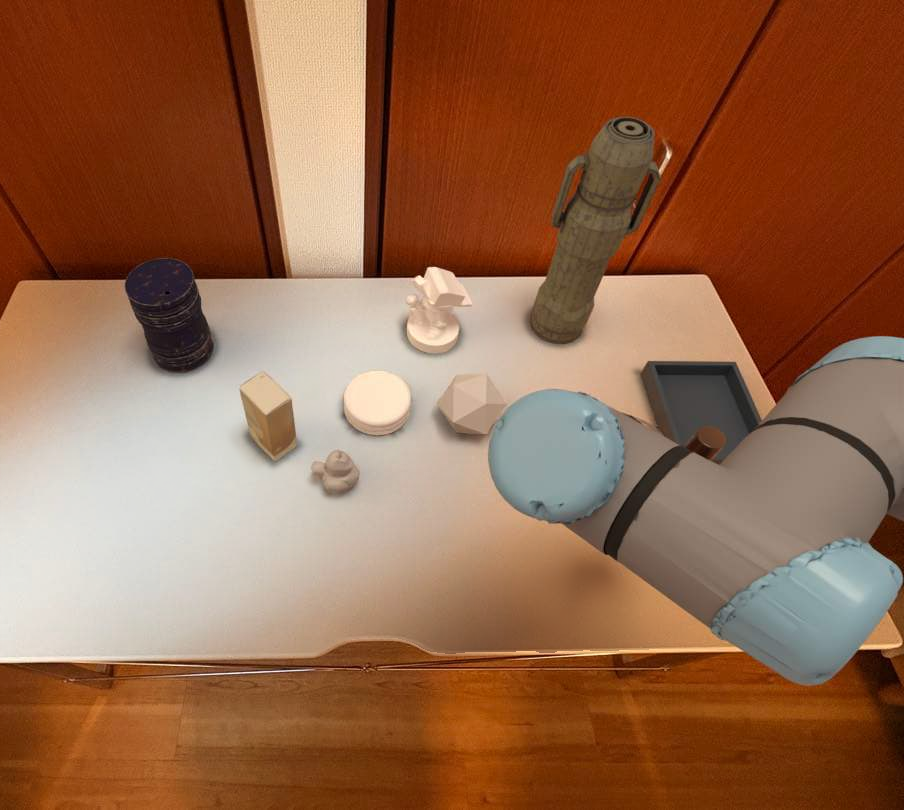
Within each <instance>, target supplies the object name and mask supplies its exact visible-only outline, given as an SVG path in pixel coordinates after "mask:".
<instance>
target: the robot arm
mask: <svg viewBox="0 0 904 810" xmlns="http://www.w3.org/2000/svg"><path fill="white" fill-rule="evenodd" d="M500 415H501V416H500V417H498V418H497V419H496V421H495V425H494V427H493V429H492V432H491V433H490V434H491V435H490V438H489V442H488V449H487V462H488V468H489V473H490V477H491V479H492V481H493V485H494V486H495V488H496V490H497V491H498V493H499V494H500V496H501V497H502V499H503V500H504V501H505V502H506V503H507V504H509V506H510V507H512V508H513V509H514V510H516V511H517V512H519V513H521V514H522V515H525V516H526V517H530V518H532V519H536V520H537V521H539V522H541V521H545V522H547V523H548V524H550V525H553V524H555V525H559V524H561V525H563V526H564V527H565V528H567V529H568V530H570V531H571V532H573V533H574V534H575V535H577V536H578V537H579V538H580V539H582V540H584V541H585V542H587V544H589V545H591V546H592V547H594V548H595V549H596V550H598V551H599V552H601V553H602V554H603V555H605V556H609V557H610V558H612V559H613V560H614V561H616V563H619V564H621V565H622V566H623V567H625V568H626V569H628V570H629V571H630V572H632V573H633V574H634V575H636V576H637V577H638V578H639V579H641V580H643V581H644V582H645V583H647V584H648V585H649V586H651V587H652V588H653V589H655V590H656V591H657V592H659V593H660V594H662V595H663V596H665V597H666V598H667V599H669V600H670V601H671V602H672V603H674V604H676V605H677V606H678V607H680V608H681V609H682V610H684V611H685V612H686V613H688V614H689V615H691V616H692V617H694V618H695V619H696V620H697V621H699V622H701V623H702V624H703V625H704V626H705V627H707V628H708V629H710V631H711V633H712V635H714V636H715V637H716V638H718V639H720V640H721V641H723V640H724V641H725V642H728V643H729V644H731V645H733V646H735V647H736V648H737V649H739V650H740V651H742V652H743V653H745V654H747V655H748V656H750V657H751V658H753V659H754V660H756V661H758V662H759V663H761V664H763V665H764V666H766V667H767V668H769V669H770V670H772V671H774V673H777V674H778V675H779V676H781V677H783V678H784V679H786V680H787V681H790V682H791V683H794V684H797V685H801V686H806V687H809V686H811V687H812V686H818V685H821V684H824V683H826V682H827V681H829V680H830V679H832V678H833V677H834V676H836V674H837V673H839V672H840V671H841V670H842V669H843V668H844V667H845V666H846V664H847V663H848V662H849V661H850V660H851V659H852V658H853V657H854V656H855V654H856V653H857V652H858V651H859V650H860V649H861V647H862V646H863V645H864V644H865V642H866V641H867V640H868V638H869V637H870V636H871V635H872V633H873V632H874V631H875V630H876V628H877V627H878V625H879V624H880V623H881V621H882V620H883V618H884V617H885V615H887V614H886V613H887V612H888V611H889V609H891V606H892V605H893V603H894V602H895V600H896V598H897V597H898V594H899V591H900V590H901V587H902V585H903V583H904V577H903V576H904V575H903V573H902V570H901V569H900V567H899V566H898V565H897V564H896V563H894V561H892V560H891V559H890V558H887V557H885V556H884V555H883V554H882V553H880V552H879V551H877V550H876V549H874V548H873V547H872V545H871V543H870V541H871V539H872V537H873V536H874V534H875V533H876V531H877V530H878V528H879V527H880V524H881V523H882V522H883V520H884V518H885V517H886V516H887V515H888V516H890V517H892V518H895V519H897V520H900V521H902V522H904V338H903V337H897V336H887V335H886V336H885V335H877V336H867V337H861V338H857V339H853V340H850V341H847V342H844V343H842V344H840V345H838V346H836V347H835V348H833V349H832V350H831V351H829V352H827V354H825V355H824V356H823V357H822V358H821V359H819V360H818V361H817V362H816V363H814V364H813V366H811V367H809V369H807V370H806V371H804V372H803V373H802V374H800V375H799V376H797V378H796V379H795V380H794V382H792V384H791V385H790V386H789V387H788V389H787V390H786V392H785V393H784V394H783V396H782V397H781V398H780V399H779V400H778V401H777V403H776V404H775V405H774V406H773V407H772V408H771V409H770V411H769V412H768V413H767V414H766V415H765V416H764V417H763V419H762V421H761V422H760V423H759V425H758V426H757V427H756V428H755V429H754V430H752V431H751V432H750V433H749V434H748V435H747V436H746V437H745V438H744V439H743V440H742V441H741V442H740V443H739V444H738V445H737V447H736V448H735V449H734V450H733V451H732V452H731V453H730V454H729V455H728V456H727V457H726V458H725V459H724V460H723V462H722V463H721V464H720V465H718V464H716V463H714V462H712V461H710V460H707V459H705V458H704V457H702V456H700V455H698V454H696V453H695V452H693V451H691V450H689V449H687V448H685V447H684V446H680V445H679V444H677V442H676V441H675V440H674V439H673V438H672V437H671V436H670V435H669V434H667V433H666V432H665V431H663V430H661V429H660V428H658V426H655V425H653V424H650V423H649V422H647V421H646V420H643V419H641V418H639V417H636V416H633V415H630V414H627V413H624V412H622V411H620V410H618V409H616V408H614V407H611V406H609V405H607V404H606V403H605V402H603V401H601V400H599V399H597V398H595V396H592V395H591V394H588V393H586V392H583V391H578V392H576V391H572V390H566V389H560V388H559V389H558V388H546V389H541V390H536V391H533V392H530V393H528V394H525V395H523V396H522V397H520V398H518V399H517V400H516V401H514V402H513V403H512V404H510V405H509V406H508V407H507V408H506V409H505V410H504V411H503V413H501V414H500Z"/></svg>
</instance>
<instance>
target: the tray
mask: <svg viewBox="0 0 904 810" xmlns="http://www.w3.org/2000/svg"><path fill="white" fill-rule="evenodd" d="M640 375H641V378H642V382H643V385H644V388H645V391H646V395H647V397H648V400H649V403H650V406H651V407H650V408H651V409H652V412H653V415H654V419H655V422H656V425H657V427H658V428H660V429H661V430H663V431H665V432H666V433H667V434H669V435H670V436H671V437H672V438H673V439H674V440H675V441H676V442H677V444H679V445H680V446H684V447H685V445H686V444H687V443H688V442H689V440H690V439H691V438H692V437H693V436H694V434H695V433H696V432H697V431H698V429H699V428H701V427H703V426H712V427H715V428H717V429H719V430H720V431H721V432H722V433H723V434H724V435H725V438H726V444H725V446H724V447H723V448H722V449H721V450H720V451H719V452H718V454H717V455H716V456H715V457H714V458H713V459H712V460H711V461H712V462H714V463H716V464H718V465H720V464H721V463H722V462H723V460H724V459H725V458H726V457H727V456H728V455H729V454H730V453H731V452H732V451H733V450H734V449H735V448H736V447H737V445H738V444H739V443H740V442H741V441H742V440H743V439H744V438H745V437H746V436H747V435H748V434H749V433H750V432H751V431H752V430H754V429H755V428H756V427H757V426H758V425H759V423H760V422H761V421H762V420H763V419H762V417H761V414H760V413H759V410H758V408H757V406H756V404H755V401H754V400H753V397H752V395H751V392H750V391H749V388H748V386H747V384H746V381H745V380H744V376H743V375H742V371H741V370H740V368H739V366H738V364H737V361H704V360H699V361H698V360H695V361H694V360H647V362H646V364H645V366H644V367H643V368H642V370H641V371H640Z"/></svg>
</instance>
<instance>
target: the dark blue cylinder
mask: <svg viewBox="0 0 904 810" xmlns="http://www.w3.org/2000/svg"><path fill="white" fill-rule="evenodd" d="M193 272H194V271H193V270H192V268H191V267H190V266H189V265H188V264H187V263H185V262H183V261H182V260H179V259H176V258H171V257H162V258H154V259H151V260H147V261H145V262H143V263H140V264H139V265H137V266H135V268H133V269H132V270H131V271H130V272H129V273H128V275H127V276H126V278H125V281H124V291H125V293H126V296H127V298H128V300H129V305H130V307H131V309H132V312H133V313H134V316H135V318H136V320H137V321H138V322H139V324H140V325H141V327H142V329H143V335H144V339H145V341H146V345H147V348H148V350H149V351H150V353H151V355H152V357H153V359H154V363H156V365H157V366H158V367H159V368H160V369H162V370H164V371H165V372H169V373H175V374H181V373H188V372H192V371H194V370H197V369H199V368H201V367H202V366H204V365H205V364H206V363H208V361H209V360H210V358H211V357H212V355H213V352H214V341H213V338H212V332H211V331H212V330H211V328H210V325H209V322H208V320H207V317H206V316H205V314H204V312H203V309H202V297H201V295H200V294H201V293H200V291H199V287H198V284H197V282H196V279H195V275H194V273H193Z"/></svg>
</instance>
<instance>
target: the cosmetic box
mask: <svg viewBox="0 0 904 810" xmlns="http://www.w3.org/2000/svg"><path fill="white" fill-rule="evenodd" d="M238 390H239V392H240V393H239V395H240V398H241V403H242V407H243V410H244V415H245V420H246V423H247V428H248V431H249V436H250V437H251V438H252V440H253V441H254V442H255V443H256V444H257V445H258V446H259V448H260V449H261V450H262V451H263V452H264V453H265V454H266V455H267V456H268V457H269V458H271V460H272V461H273V462H276V461H278V460H280V459H282V457H284V456H286V455H287V454H288V453H290V452H291V451H292V450H294V449H295V448H297V447H298V440H297V439H298V438H297V433H296V432H297V431H296V423H295V415H294V407H293V398H292V396H290V394H289V393H288V392H287V391H286V390H284V388H283V387H282V386H281V385H280V384H279V383H277V381H276V380H274V378H272V377H271V376H270V374H268V373H267V372H266V371H265V370H262V371H260V372H258V373H257V374H255V375H253V376H252V377H251V378H249V379H247V380H246V381H245V382H243V383H242V384H240V385H239V386H238Z"/></svg>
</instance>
